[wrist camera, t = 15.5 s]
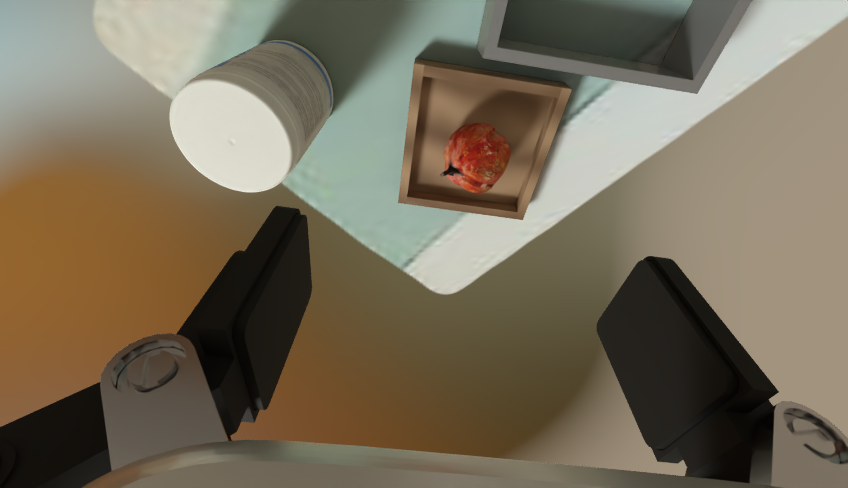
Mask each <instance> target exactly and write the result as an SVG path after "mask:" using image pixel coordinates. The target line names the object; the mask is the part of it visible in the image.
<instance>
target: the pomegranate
mask: <svg viewBox="0 0 848 488" xmlns="http://www.w3.org/2000/svg"><path fill="white" fill-rule="evenodd" d="M509 145H510V144H509V143H508V142H507V140H506V138H505V137H504V136H502V135H501V134H499V133H497V132H496V129H495V128H494V127H493V126H492V125H489V124H485V123H474V124H465V125H463V126H462V127H460V128H459V129H457V130H456V131H455V132H454V133H453V134H452V135H451V136H450V138H449V139H448V141H447V142H446V145H445V150H444V159H445V171H444V172H442V173H441V174H440V176H439V177H442V176H446V175H447V177H448V179H449V180H451V181H452V182H453V183H455V184H456V185H459V186H462V187H463V188H464V189H466V190H467V191H470V192H474V193H484V192H487V191H488V190H490V189H492V187H493V186H494V184H495V183H496V182H497V181H498V180H499V178H500V177H501V176H502V175H503V173H504V172H505V170H506V167H507V165H508V163H509V159H510V155H511V150H510V147H509Z"/></svg>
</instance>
